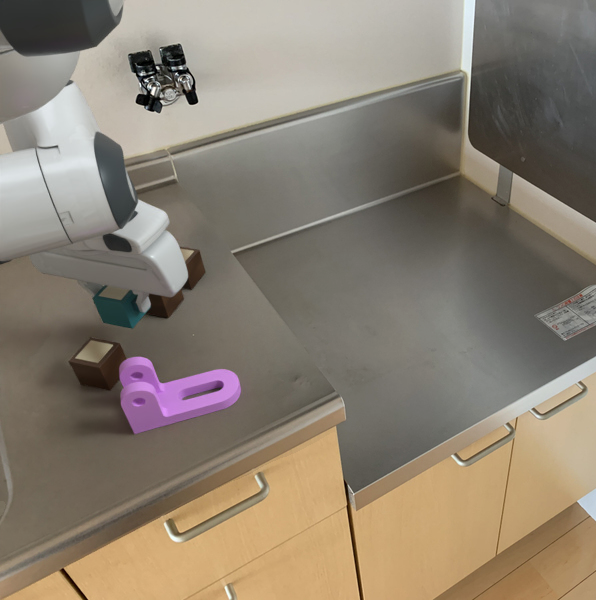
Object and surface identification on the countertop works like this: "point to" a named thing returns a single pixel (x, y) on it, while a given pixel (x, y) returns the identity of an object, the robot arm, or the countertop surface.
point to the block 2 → (164, 304)
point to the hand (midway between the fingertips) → (123, 305)
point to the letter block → (117, 307)
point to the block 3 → (192, 266)
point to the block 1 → (98, 363)
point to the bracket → (171, 395)
